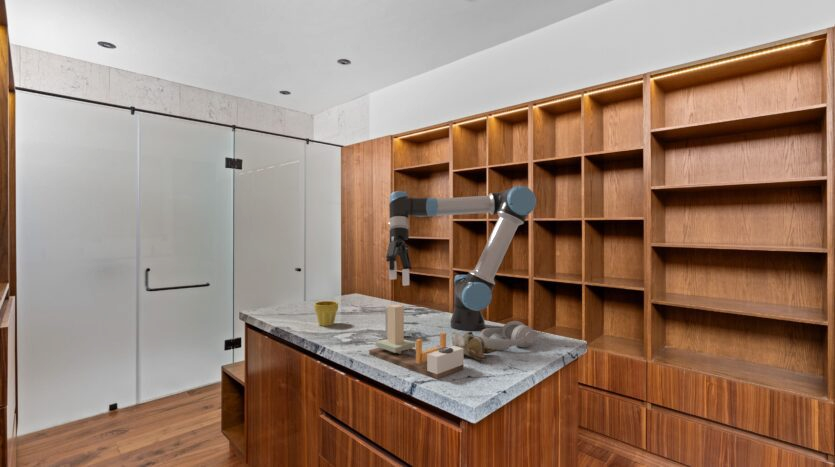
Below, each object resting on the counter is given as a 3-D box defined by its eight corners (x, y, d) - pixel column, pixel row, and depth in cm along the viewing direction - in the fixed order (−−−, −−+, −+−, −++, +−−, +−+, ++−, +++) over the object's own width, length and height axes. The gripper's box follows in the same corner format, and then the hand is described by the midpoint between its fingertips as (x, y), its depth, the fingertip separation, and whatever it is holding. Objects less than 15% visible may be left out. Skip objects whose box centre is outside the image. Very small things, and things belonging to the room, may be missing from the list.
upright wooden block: (376, 349, 139) (376, 305, 139) (395, 343, 145) (395, 302, 145) (395, 355, 132) (395, 309, 132) (415, 349, 138) (415, 306, 138)
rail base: (369, 354, 139) (369, 347, 139) (395, 347, 148) (395, 340, 148) (437, 379, 117) (437, 370, 117) (463, 369, 125) (463, 361, 125)
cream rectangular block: (426, 370, 120) (426, 351, 119) (453, 361, 128) (453, 343, 128) (437, 374, 116) (437, 354, 116) (463, 364, 125) (463, 346, 125)
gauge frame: (415, 362, 123) (415, 339, 122) (443, 353, 131) (443, 332, 131) (418, 363, 122) (418, 340, 122) (445, 354, 130) (446, 333, 130)
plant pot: (335, 327, 177) (335, 305, 177) (311, 327, 177) (311, 305, 177) (340, 321, 187) (340, 300, 187) (318, 321, 188) (317, 300, 187)
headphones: (520, 335, 163) (474, 344, 159) (518, 316, 163) (471, 325, 159) (543, 348, 145) (492, 359, 141) (541, 327, 145) (489, 337, 141)
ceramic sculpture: (459, 324, 146) (498, 333, 138) (458, 348, 146) (497, 357, 138) (445, 331, 137) (486, 340, 129) (444, 356, 137) (485, 367, 129)
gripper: (401, 239, 172) (402, 288, 166) (377, 220, 150) (377, 277, 143) (418, 237, 170) (419, 287, 163) (396, 218, 147) (396, 275, 141)
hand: (399, 282), depth 153 cm, fingers open, 13 cm apart
